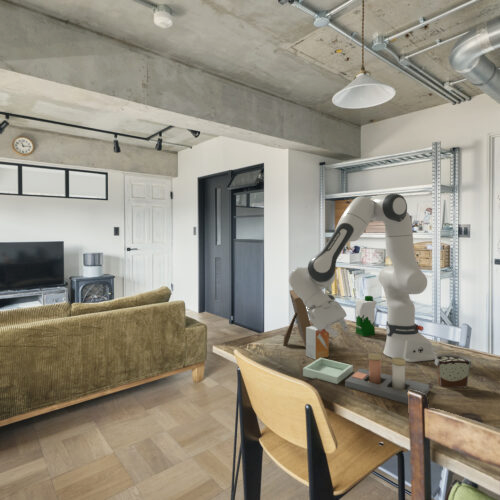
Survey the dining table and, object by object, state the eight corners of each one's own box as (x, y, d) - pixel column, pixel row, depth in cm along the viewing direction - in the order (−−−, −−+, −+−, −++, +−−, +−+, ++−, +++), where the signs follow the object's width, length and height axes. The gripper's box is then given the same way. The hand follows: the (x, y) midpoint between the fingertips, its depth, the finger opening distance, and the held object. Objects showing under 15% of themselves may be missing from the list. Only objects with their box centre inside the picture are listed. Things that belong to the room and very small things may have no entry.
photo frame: (308, 335, 187) (308, 288, 185) (315, 349, 165) (315, 296, 163) (280, 335, 187) (279, 288, 185) (284, 349, 165) (283, 296, 163)
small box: (315, 360, 151) (315, 330, 150) (305, 356, 156) (305, 327, 156) (329, 356, 155) (329, 327, 155) (318, 352, 161) (318, 324, 160)
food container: (460, 379, 130) (460, 353, 129) (471, 387, 124) (471, 359, 123) (427, 380, 130) (427, 353, 129) (436, 388, 123) (437, 360, 123)
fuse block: (345, 387, 125) (345, 380, 124) (360, 374, 135) (360, 367, 135) (418, 408, 110) (418, 400, 109) (428, 392, 120) (429, 384, 120)
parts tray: (303, 375, 135) (303, 368, 135) (320, 364, 146) (320, 357, 146) (337, 385, 126) (337, 377, 126) (352, 372, 137) (352, 365, 137)
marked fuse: (378, 382, 127) (378, 352, 127) (383, 387, 123) (383, 356, 122) (366, 382, 127) (366, 352, 126) (370, 388, 123) (371, 357, 122)
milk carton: (377, 335, 185) (377, 297, 183) (362, 337, 182) (363, 298, 181) (367, 331, 193) (367, 294, 192) (352, 332, 190) (353, 295, 189)
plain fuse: (401, 388, 122) (402, 357, 122) (407, 394, 118) (408, 361, 117) (389, 388, 122) (389, 357, 122) (394, 394, 118) (394, 362, 117)
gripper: (310, 303, 128) (335, 334, 122) (335, 294, 144) (358, 322, 138) (299, 313, 131) (323, 344, 125) (325, 304, 147) (347, 331, 141)
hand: (342, 333), depth 132 cm, fingers open, 8 cm apart
